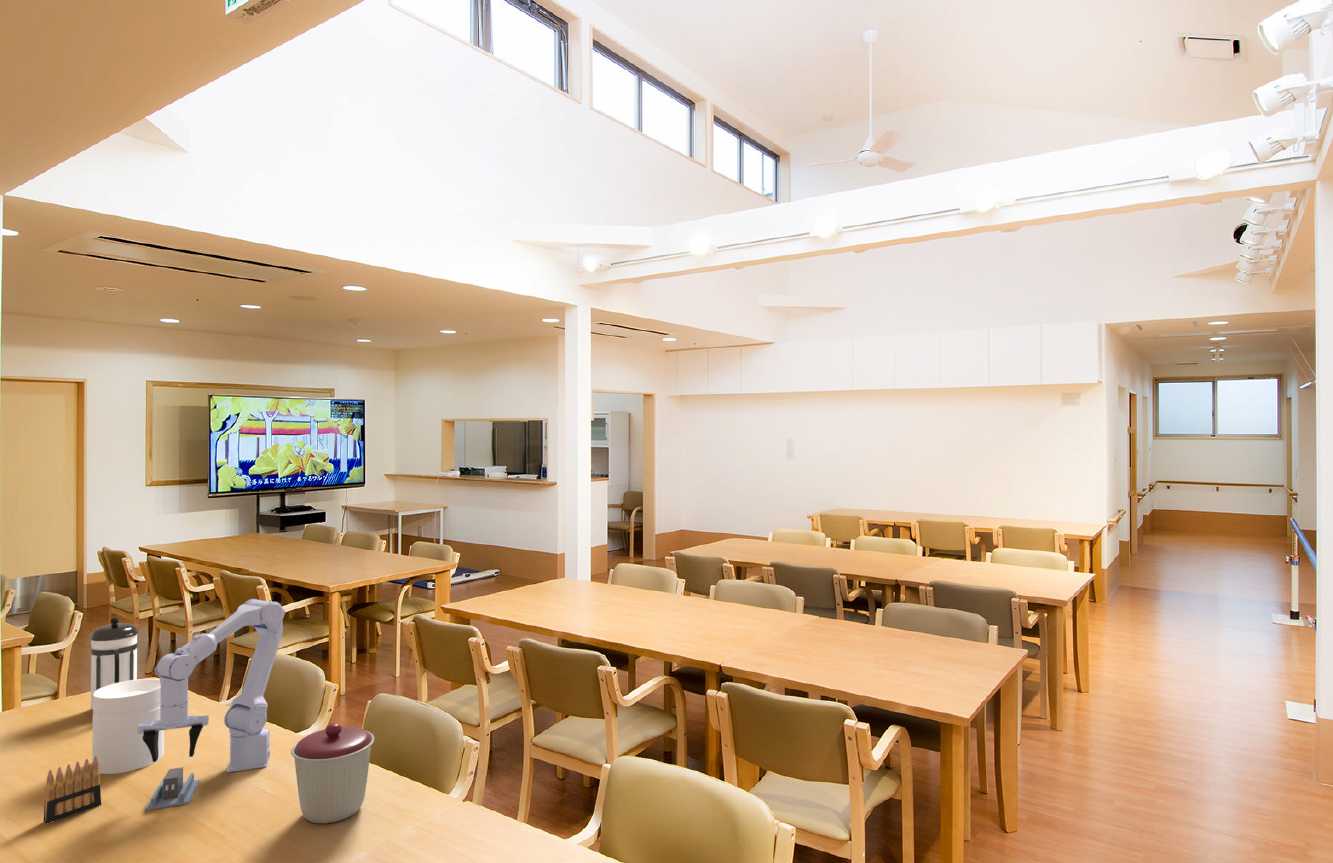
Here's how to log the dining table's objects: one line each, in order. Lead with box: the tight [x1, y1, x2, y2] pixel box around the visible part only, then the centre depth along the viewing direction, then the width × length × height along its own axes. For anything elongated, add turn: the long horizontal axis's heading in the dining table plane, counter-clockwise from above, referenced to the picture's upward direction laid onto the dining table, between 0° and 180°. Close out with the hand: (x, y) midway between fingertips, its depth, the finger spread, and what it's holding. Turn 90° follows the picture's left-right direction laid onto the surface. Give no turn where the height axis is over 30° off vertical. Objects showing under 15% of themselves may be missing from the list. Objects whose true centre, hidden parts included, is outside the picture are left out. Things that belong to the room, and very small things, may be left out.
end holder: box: [144, 772, 200, 811], centre depth 183 cm, size 9×12×3 cm
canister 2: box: [290, 722, 375, 824], centre depth 175 cm, size 18×18×21 cm
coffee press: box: [89, 617, 140, 710], centre depth 241 cm, size 17×16×30 cm
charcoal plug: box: [162, 766, 184, 800], centre depth 183 cm, size 3×7×5 cm, turn 23°
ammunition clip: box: [43, 756, 102, 825], centre depth 175 cm, size 11×2×12 cm, turn 146°
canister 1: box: [91, 678, 165, 775], centre depth 203 cm, size 16×16×20 cm
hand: (173, 757), depth 183 cm, fingers open, 7 cm apart
